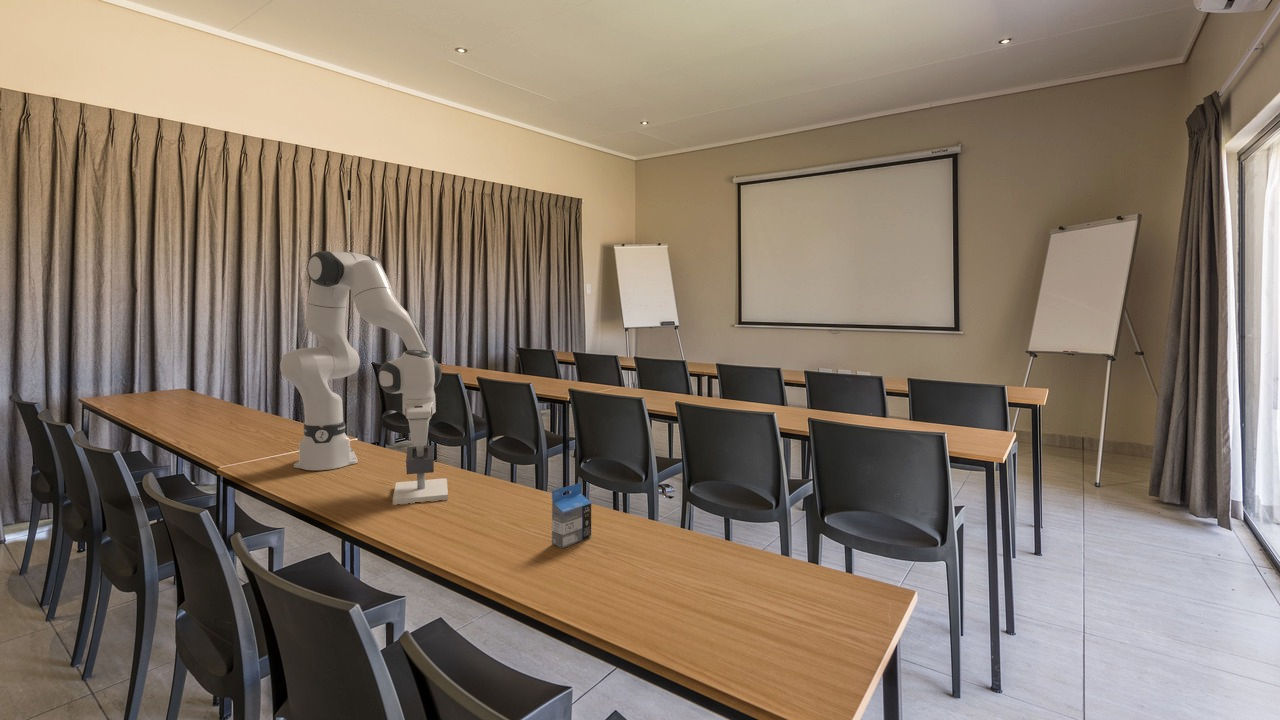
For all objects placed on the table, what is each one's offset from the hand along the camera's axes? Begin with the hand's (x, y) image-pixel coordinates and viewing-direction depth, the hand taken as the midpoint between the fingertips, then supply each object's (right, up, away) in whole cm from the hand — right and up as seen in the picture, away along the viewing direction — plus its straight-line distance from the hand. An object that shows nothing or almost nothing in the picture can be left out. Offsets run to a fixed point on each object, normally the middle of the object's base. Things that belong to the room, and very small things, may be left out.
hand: (420, 454), depth 173 cm
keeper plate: (+1, -10, -3) cm, 11 cm away
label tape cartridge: (+48, -14, -36) cm, 61 cm away
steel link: (+1, -3, -3) cm, 4 cm away
